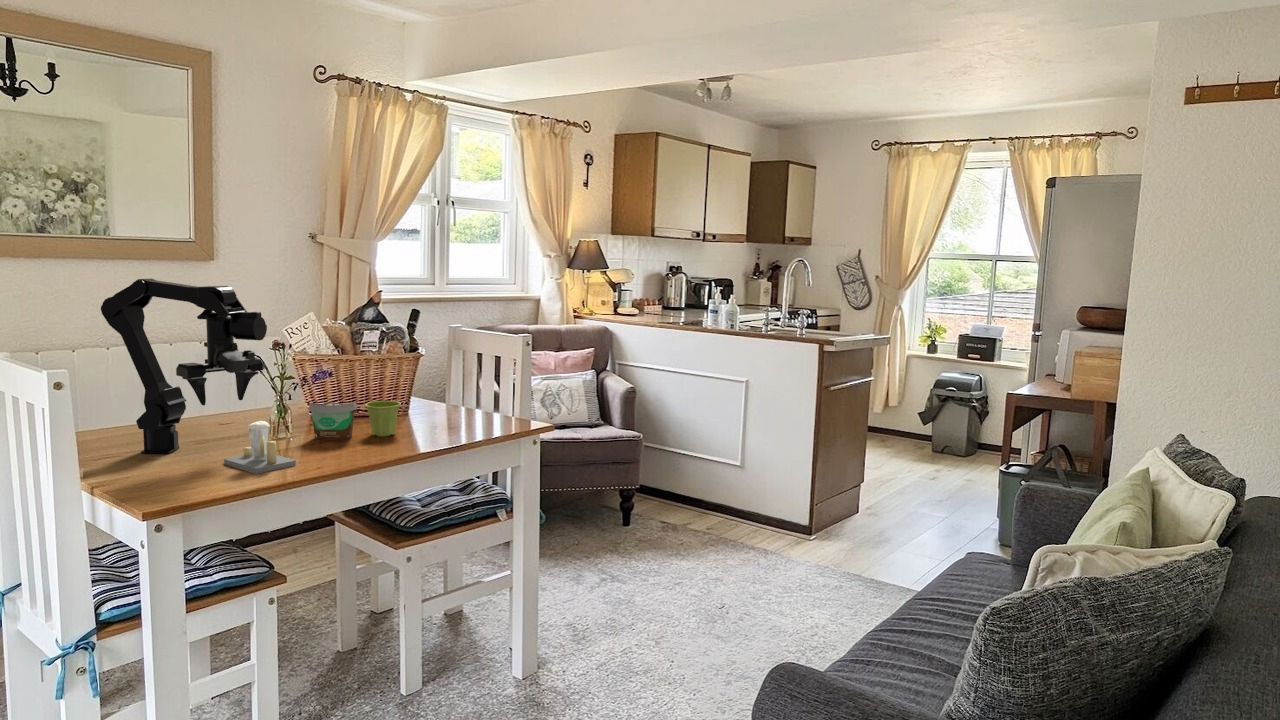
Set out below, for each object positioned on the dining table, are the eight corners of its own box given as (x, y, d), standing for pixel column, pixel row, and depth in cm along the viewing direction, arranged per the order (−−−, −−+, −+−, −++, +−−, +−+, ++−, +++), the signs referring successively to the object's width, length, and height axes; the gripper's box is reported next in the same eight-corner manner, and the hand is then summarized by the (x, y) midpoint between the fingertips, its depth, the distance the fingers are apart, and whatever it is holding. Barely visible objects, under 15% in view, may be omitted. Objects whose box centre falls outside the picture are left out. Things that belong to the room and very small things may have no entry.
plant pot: (365, 438, 223) (365, 407, 222) (365, 431, 232) (365, 401, 231) (401, 437, 226) (401, 406, 225) (400, 430, 235) (400, 400, 234)
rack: (224, 463, 194) (223, 438, 193) (263, 455, 202) (263, 431, 201) (256, 473, 187) (255, 447, 186) (295, 465, 195) (295, 439, 194)
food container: (306, 443, 216) (305, 405, 214) (309, 438, 222) (308, 401, 220) (356, 442, 219) (355, 405, 218) (357, 436, 225) (357, 400, 224)
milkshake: (250, 457, 196) (249, 415, 195) (273, 457, 196) (272, 416, 195) (242, 461, 192) (241, 419, 190) (266, 462, 192) (265, 420, 191)
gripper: (199, 344, 186) (201, 412, 188) (276, 338, 201) (277, 401, 203) (173, 340, 192) (176, 406, 194) (249, 334, 207) (251, 396, 209)
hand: (222, 402), depth 200 cm, fingers open, 9 cm apart
